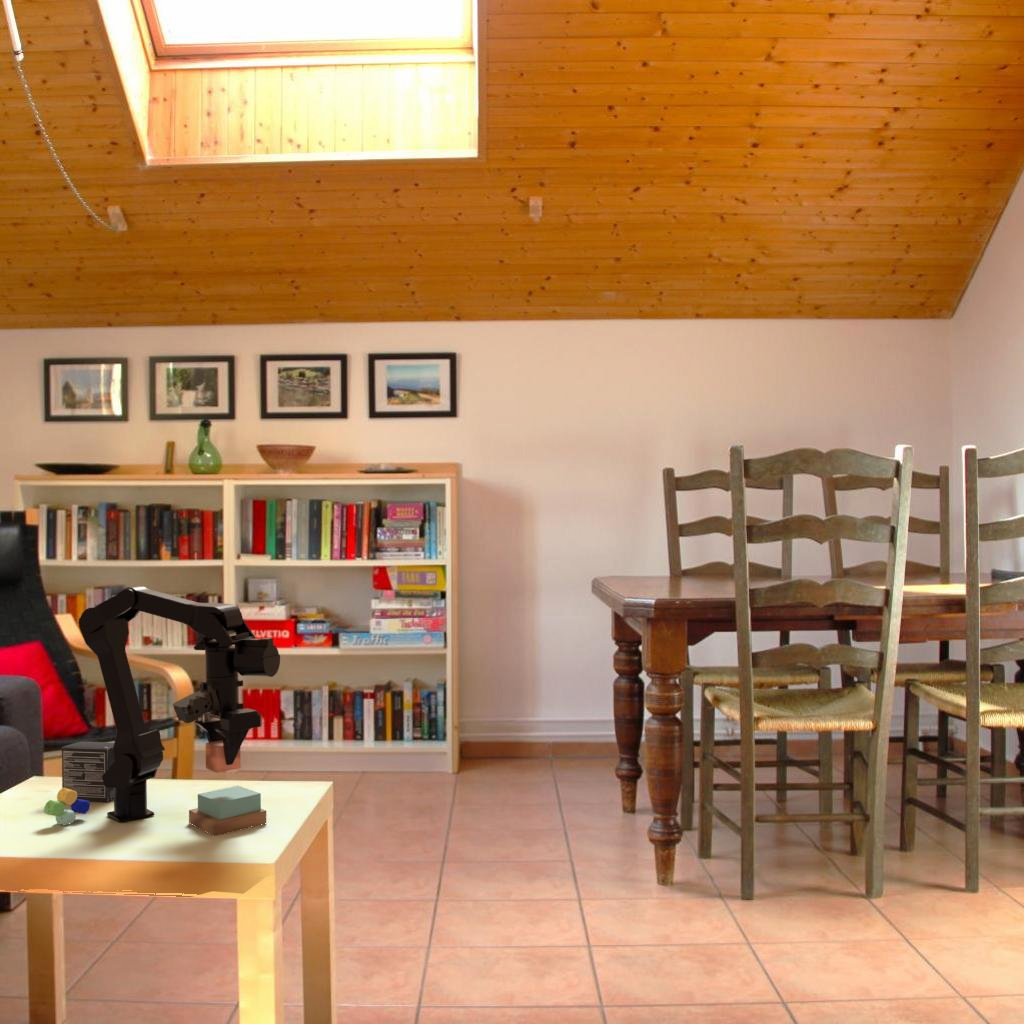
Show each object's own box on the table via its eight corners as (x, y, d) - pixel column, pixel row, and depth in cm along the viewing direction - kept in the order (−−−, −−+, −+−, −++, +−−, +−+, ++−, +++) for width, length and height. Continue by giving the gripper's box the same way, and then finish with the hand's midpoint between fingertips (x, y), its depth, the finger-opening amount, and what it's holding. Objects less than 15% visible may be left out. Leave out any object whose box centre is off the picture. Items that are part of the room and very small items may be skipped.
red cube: (205, 768, 187) (205, 743, 187) (229, 763, 190) (228, 739, 190) (217, 772, 184) (216, 747, 184) (240, 768, 187) (240, 743, 187)
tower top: (197, 810, 187) (197, 794, 187) (237, 801, 193) (237, 785, 193) (220, 819, 182) (220, 802, 182) (260, 810, 187) (260, 793, 187)
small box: (128, 794, 208) (127, 741, 208) (108, 803, 202) (107, 748, 202) (81, 791, 211) (80, 739, 211) (60, 800, 204) (59, 746, 204)
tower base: (189, 826, 188) (188, 809, 188) (240, 815, 194) (240, 799, 194) (214, 839, 180) (214, 822, 180) (266, 827, 187) (266, 810, 187)
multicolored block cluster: (83, 816, 193) (82, 781, 193) (91, 818, 192) (91, 783, 192) (42, 827, 187) (42, 791, 187) (50, 829, 185) (50, 793, 185)
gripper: (157, 674, 189) (158, 761, 189) (202, 686, 175) (203, 779, 175) (215, 668, 196) (216, 751, 196) (262, 678, 182) (264, 768, 182)
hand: (223, 762), depth 187 cm, fingers closed on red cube, 4 cm apart
